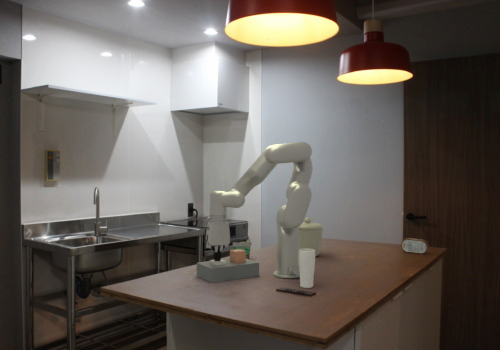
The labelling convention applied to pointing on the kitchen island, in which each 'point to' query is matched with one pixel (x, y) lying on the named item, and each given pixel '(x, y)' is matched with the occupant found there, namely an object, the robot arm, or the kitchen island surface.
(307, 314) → the kitchen island surface
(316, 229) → the canister
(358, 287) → the kitchen island surface
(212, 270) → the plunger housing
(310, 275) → the drinking glass
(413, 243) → the tin
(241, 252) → the terracotta brown block
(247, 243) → the food container
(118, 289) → the kitchen island surface
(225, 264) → the cream cube block
